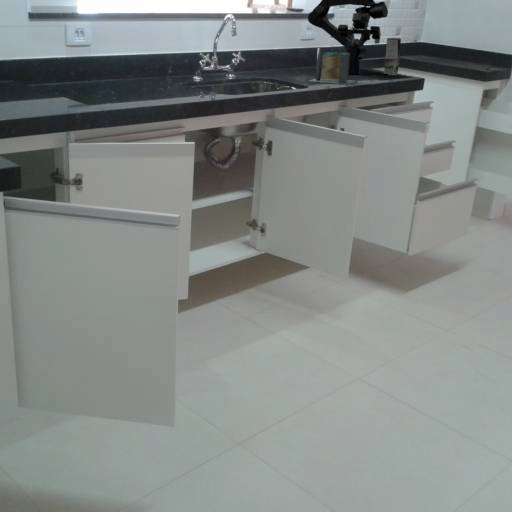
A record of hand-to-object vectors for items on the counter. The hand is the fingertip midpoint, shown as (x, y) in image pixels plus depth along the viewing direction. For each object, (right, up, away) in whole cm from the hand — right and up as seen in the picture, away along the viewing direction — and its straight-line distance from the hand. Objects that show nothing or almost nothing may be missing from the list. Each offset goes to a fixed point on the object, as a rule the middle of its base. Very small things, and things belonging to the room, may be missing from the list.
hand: (354, 46), depth 315 cm
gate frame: (-12, -19, -11) cm, 25 cm away
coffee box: (+20, -7, +21) cm, 30 cm away
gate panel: (-10, -16, -8) cm, 20 cm away
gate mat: (-10, -17, -8) cm, 22 cm away
